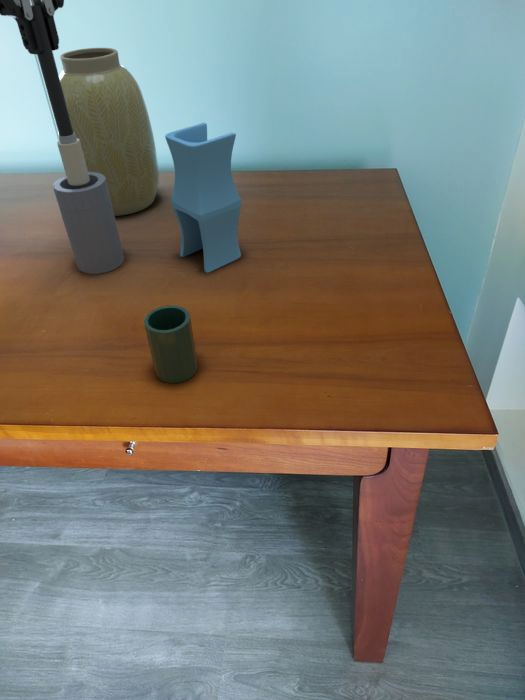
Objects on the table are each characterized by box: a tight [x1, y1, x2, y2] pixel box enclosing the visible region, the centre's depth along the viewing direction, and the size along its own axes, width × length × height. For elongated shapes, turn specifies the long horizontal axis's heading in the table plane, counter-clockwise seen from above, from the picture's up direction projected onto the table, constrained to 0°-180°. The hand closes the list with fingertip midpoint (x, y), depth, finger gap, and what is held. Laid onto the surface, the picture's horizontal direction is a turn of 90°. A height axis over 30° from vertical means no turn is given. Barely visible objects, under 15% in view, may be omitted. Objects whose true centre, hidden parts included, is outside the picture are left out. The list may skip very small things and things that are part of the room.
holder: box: [143, 304, 199, 384], centre depth 65 cm, size 5×5×8 cm
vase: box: [57, 47, 161, 217], centre depth 99 cm, size 17×17×27 cm
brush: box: [31, 4, 90, 186], centre depth 73 cm, size 3×3×22 cm
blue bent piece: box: [164, 122, 242, 274], centre depth 83 cm, size 8×8×20 cm
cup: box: [52, 172, 125, 275], centre depth 85 cm, size 8×8×14 cm
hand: (43, 51), depth 69 cm, fingers closed on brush, 2 cm apart
